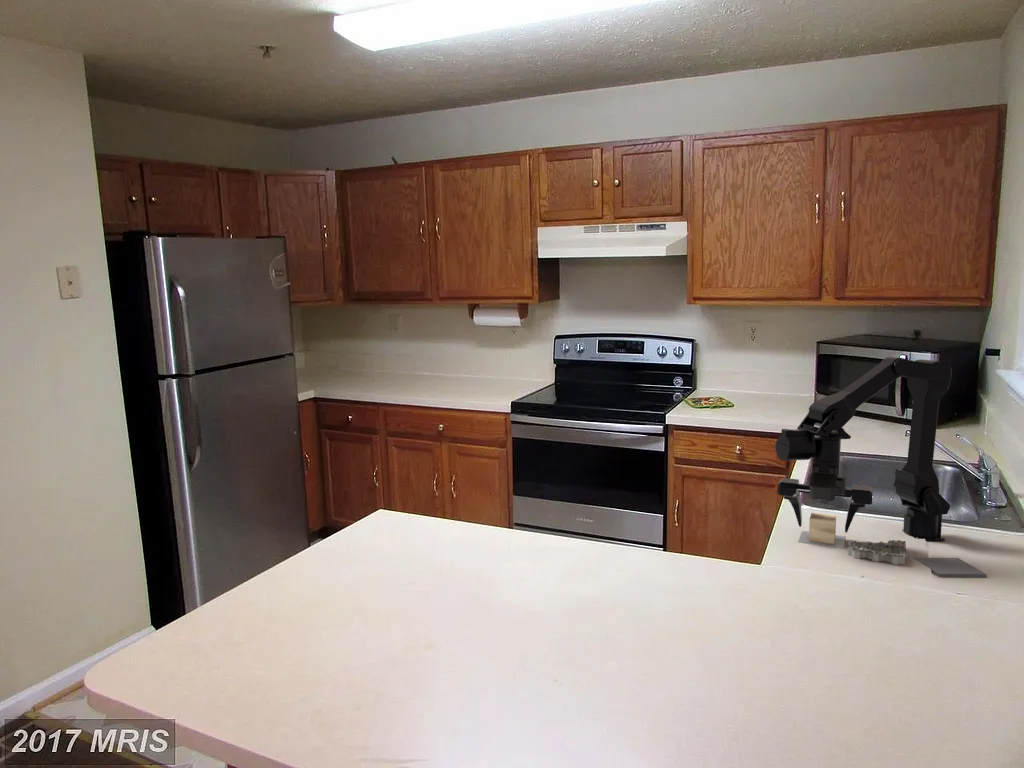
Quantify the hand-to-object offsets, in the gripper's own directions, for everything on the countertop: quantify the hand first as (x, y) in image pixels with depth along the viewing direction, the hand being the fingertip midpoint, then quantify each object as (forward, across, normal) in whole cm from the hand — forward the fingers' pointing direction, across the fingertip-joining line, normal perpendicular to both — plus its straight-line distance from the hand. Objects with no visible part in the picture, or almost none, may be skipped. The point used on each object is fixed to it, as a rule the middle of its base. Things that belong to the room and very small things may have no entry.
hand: (822, 529), depth 153 cm
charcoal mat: (+3, +23, -6) cm, 24 cm away
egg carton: (+3, +11, -7) cm, 13 cm away
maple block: (+2, 0, 0) cm, 2 cm away
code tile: (+3, 0, 0) cm, 3 cm away
